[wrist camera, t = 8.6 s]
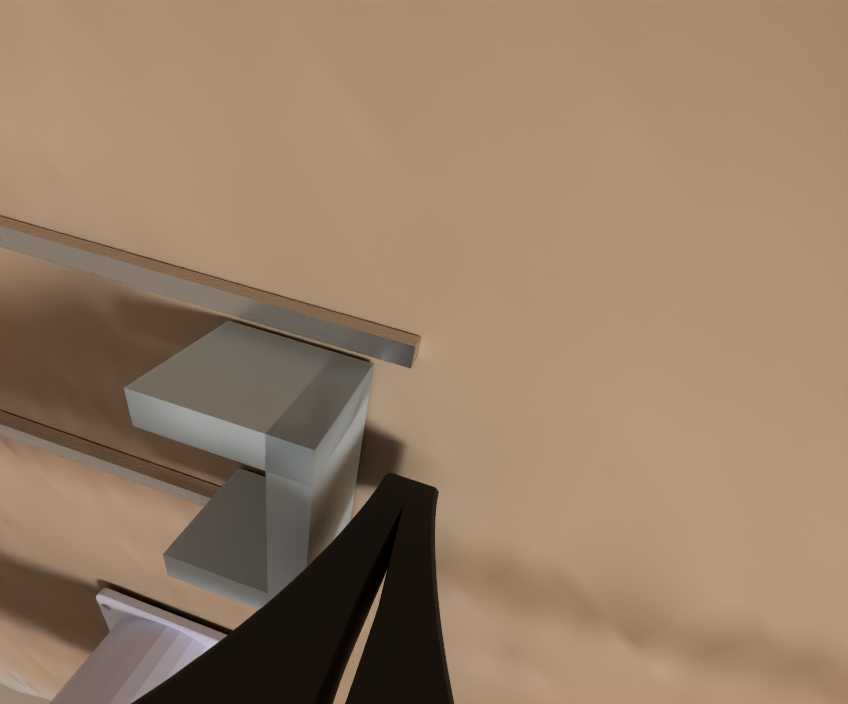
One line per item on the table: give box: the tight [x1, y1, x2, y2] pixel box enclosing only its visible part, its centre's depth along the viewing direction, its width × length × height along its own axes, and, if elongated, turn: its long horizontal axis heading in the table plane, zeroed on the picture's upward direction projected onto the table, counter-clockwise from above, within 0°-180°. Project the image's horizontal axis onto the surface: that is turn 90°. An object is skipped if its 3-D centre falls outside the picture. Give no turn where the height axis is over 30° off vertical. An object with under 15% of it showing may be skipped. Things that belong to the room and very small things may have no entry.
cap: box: [124, 320, 374, 610], centre depth 11 cm, size 6×4×3 cm, turn 169°
